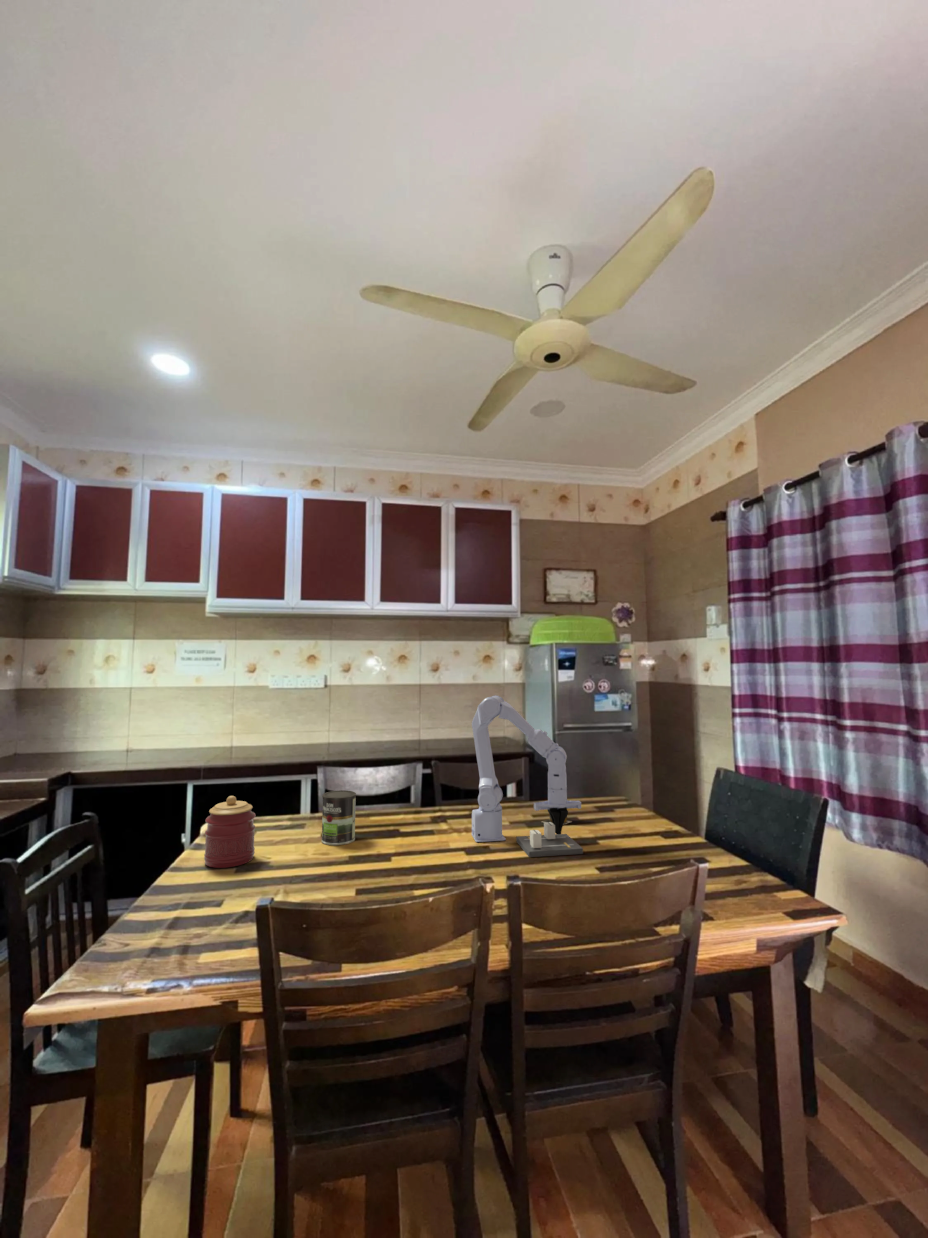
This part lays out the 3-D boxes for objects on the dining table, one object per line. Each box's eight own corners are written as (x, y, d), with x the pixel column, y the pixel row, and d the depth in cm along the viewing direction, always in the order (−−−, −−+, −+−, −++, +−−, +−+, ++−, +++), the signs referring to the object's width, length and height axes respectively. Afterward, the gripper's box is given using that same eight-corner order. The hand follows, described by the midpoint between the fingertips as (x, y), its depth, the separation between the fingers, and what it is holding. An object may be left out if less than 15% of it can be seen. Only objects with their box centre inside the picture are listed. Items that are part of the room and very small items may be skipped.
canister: (243, 849, 164) (244, 788, 165) (262, 860, 155) (264, 796, 156) (196, 860, 155) (199, 796, 156) (214, 873, 146) (216, 804, 147)
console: (529, 857, 156) (529, 851, 157) (516, 841, 170) (516, 836, 170) (583, 854, 159) (582, 848, 159) (566, 838, 173) (566, 833, 173)
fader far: (547, 839, 167) (547, 825, 167) (544, 836, 170) (543, 822, 170) (555, 839, 167) (555, 825, 167) (551, 835, 170) (551, 821, 171)
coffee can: (343, 847, 166) (343, 799, 167) (314, 843, 169) (315, 796, 171) (361, 837, 175) (362, 791, 176) (334, 833, 179) (335, 789, 180)
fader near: (533, 848, 159) (533, 833, 159) (530, 844, 162) (529, 830, 162) (541, 847, 159) (541, 833, 159) (537, 844, 162) (537, 829, 163)
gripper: (538, 791, 165) (538, 838, 164) (584, 789, 167) (585, 836, 166) (531, 786, 172) (532, 831, 171) (576, 784, 174) (577, 829, 173)
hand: (558, 833), depth 169 cm, fingers closed
